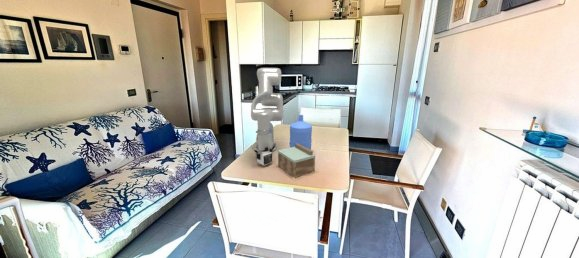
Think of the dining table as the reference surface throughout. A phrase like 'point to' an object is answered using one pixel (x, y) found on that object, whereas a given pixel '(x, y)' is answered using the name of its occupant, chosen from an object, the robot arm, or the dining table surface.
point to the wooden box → (296, 166)
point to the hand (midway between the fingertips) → (264, 157)
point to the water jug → (301, 133)
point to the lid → (297, 153)
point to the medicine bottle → (265, 157)
